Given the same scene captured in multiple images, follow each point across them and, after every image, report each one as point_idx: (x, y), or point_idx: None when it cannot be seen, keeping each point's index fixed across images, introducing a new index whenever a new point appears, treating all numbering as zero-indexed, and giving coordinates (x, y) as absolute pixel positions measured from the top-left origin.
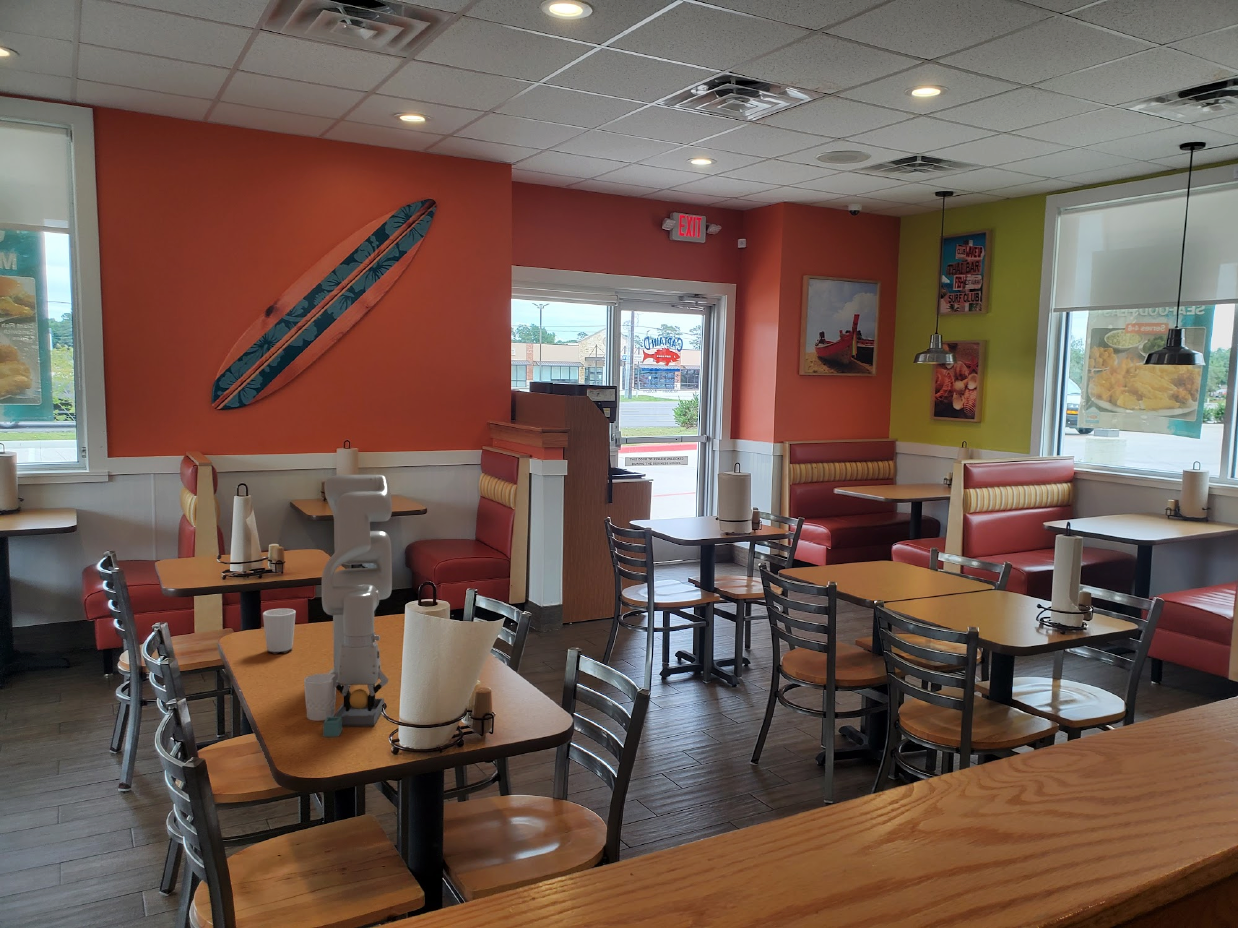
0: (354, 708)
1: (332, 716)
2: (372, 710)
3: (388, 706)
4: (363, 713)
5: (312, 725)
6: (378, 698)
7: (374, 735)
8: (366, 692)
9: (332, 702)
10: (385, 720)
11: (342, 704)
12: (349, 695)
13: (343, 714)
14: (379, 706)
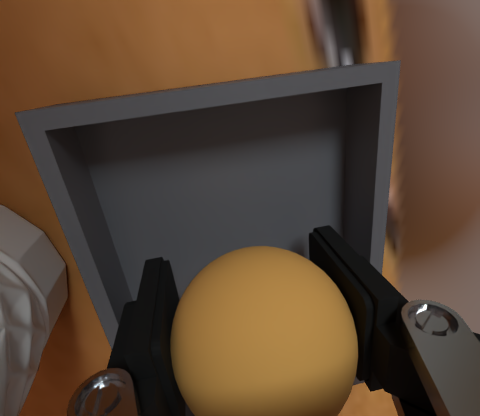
0: (153, 152)
1: (66, 283)
2: (297, 172)
3: (377, 25)
4: (254, 230)
5: (30, 389)
6: (347, 67)
7: (361, 400)
8: (353, 378)
9: (28, 376)
10: (385, 264)
11: (83, 260)
12: (177, 400)
13: (132, 268)
14: (381, 247)
